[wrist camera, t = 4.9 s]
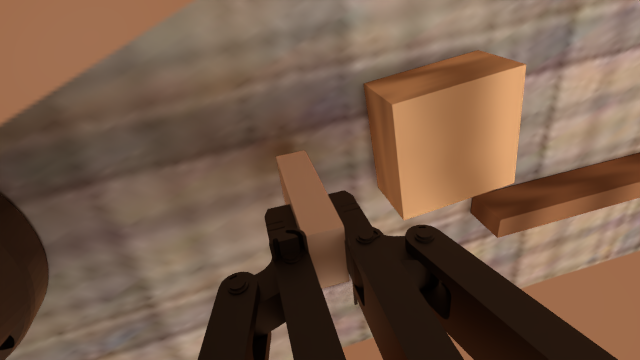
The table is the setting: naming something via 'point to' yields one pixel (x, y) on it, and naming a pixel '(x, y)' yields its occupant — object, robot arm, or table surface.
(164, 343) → the table surface
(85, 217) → the table surface
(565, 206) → the lane
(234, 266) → the table surface
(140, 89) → the table surface
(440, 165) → the block
